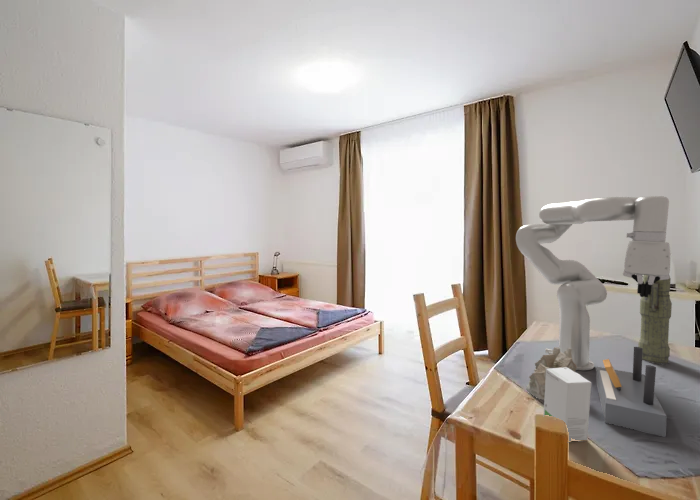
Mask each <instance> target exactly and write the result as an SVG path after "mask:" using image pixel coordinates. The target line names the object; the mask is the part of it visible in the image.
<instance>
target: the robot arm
mask: <svg viewBox="0 0 700 500" xmlns="http://www.w3.org/2000/svg"><path fill="white" fill-rule="evenodd" d="M669 206H670V201H669V198H668V197H667V196H662V195H661V196H658V195H655V196H654V195H652V196H651V195H650V196H641V197H636V196H635V197H633V196H608V197H599V198H590V199H580V200H571V201H562V202H554V203H553V202H552V203H548V204H546V205H544V206H543V207H541V208H540V211H539V213H538V216H539V219H540V221H541V222H542V223H529V224H525V225H523V226H520V227H519V228H518V230H517V231H516V234H515V242H516V243H515V244H516V247H517V248H518V251H520V253H521V254H522V255H523V256H524V257H525V258H526V259H527V260H528V262H530V263H531V264H532V265H533V267H534V268H535V269H536V270H537V271H538V272H539V273H540V275H541V276H542V277H543V278H544V280H546V282H548V283H550V284H551V285H555V286H559V285H560V286H559V287H558V289H557V291H556V292H557V293H556V297H557V303H558V309H559V327H558V328H559V329H558V331H559V332H558V333H559V334H558V335H559V336H558V348H559V349H560V352H562V353H564V352H565V350H567V348H571V349H572V350H571V354H572V360H573V362H574V363H575V365H576V366H577V369H576V370H575V371H590V370H591V371H592V370H593V369H594V368H595V364H594V362H593V361H592V360H590V339H591V337H590V336H591V335H590V334H591V319H590V317H591V316H590V314H589V312H588V309H587V306H594V305H595V306H596V305H599V304H601V303H604V301H605V300H606V299H607V295H608V292H607V289H606V287H605V285H604V284H603V282H601V281H600V280H599V278H597V276H596V275H595V274H593V273H592V272H591V271H590V270H589V269H588V268H587V267H586V266H585V265H584V264H583V263H582V262H580V261H577V260H574V259H563V260H562V259H559V257H557V256H556V255H555V254H554V253H553V251H551V250H550V249H548V248H546V247H545V246H544V245H542V244H553V243H555V242H556V241H558V240H559V239H560V238H561V237H562V236H563V235H564V234H565V232H567V231H569V229H570V228H571V227H572V226H573V225H580V224H584V223H587V222H588V223H589V222H611V221H612V222H614V221H633V224H632V226H633V227H632V232H626V238H629V239H631V240H630V241H629V242H628V244H627V249H626V253H625V259H624V269H623V273H622V276H624V277H628V278H630V279H631V278H632V279H633V280H634V281H635V282H637V289H636V291H637V294H639V296H640V298H641V297H647V298H648V294H649V295H651V285H653V283H655V282H657V281H658V280H665V279H669V278H671V276H670V272H671V247H670V242H667V241H666V238H667V227H668V226H667V225H668V217H669ZM644 275H648V279H647V281H646V283H644V282H643V276H644ZM669 276H670V277H669ZM545 354H547V355H549V354H553V349H551V348H545Z"/></svg>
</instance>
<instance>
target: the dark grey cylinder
mask: <svg viewBox="0 0 700 500" xmlns="http://www.w3.org/2000/svg"><path fill="white" fill-rule="evenodd" d="M642 352H643V348H640V347H638V346H633V359H632V360H633V361H632V362H633V363H632V365H633V366H632V373H633V380H635V381H641V379H642V373H643V360H642Z"/></svg>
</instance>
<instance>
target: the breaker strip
mask: <svg viewBox="0 0 700 500" xmlns="http://www.w3.org/2000/svg"><path fill="white" fill-rule="evenodd" d="M614 370H615V372H616V374H617V376H618V378H619V380H620V383H621V386H622V387H621V390H620V391H619V390H618V388H617V387H616V388H615V386H614V384H613V382H612V380H611V379H610V377H609V375H608V373H607V371H606V369H605V367H601V366H600V367H599V366H596V379H595V380H596V388H597V391H598V396H599V401H600V405H601V411H602V415H604V416H603V420H604V423H605V424H608V423H609V425H612V424H614V425H613V426H617V425H618V426H617V427H621V426H623V427H622V428H625V427H627V428H626V429H629V428H630V430H633V429H634V431H638V432H643V433H647V434H651V435H653V436H654V435H655V436H659V437H663V438H666V436H667V418H668V417H667V414H666V412H665V410H664V408H663V407H662V405H661V403H660V400H659V399H658V397H657V395H656V394H655V393H654V402H653V405H648V404H646V403H644V402H643V398H644V383H645V374H642V379H641V381H635V380H633V372H630V371H625V370H618V369H614Z"/></svg>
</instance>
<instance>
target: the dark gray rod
mask: <svg viewBox="0 0 700 500" xmlns="http://www.w3.org/2000/svg"><path fill="white" fill-rule="evenodd" d="M656 371H657V367H656V366H654V365H651V364H646V365H645V371H644V375H645V383H644V398H643V402H644V403H646V404H648V405H653V402H654V394H655V389H656V388H655V385H656V373H657V372H656Z"/></svg>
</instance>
